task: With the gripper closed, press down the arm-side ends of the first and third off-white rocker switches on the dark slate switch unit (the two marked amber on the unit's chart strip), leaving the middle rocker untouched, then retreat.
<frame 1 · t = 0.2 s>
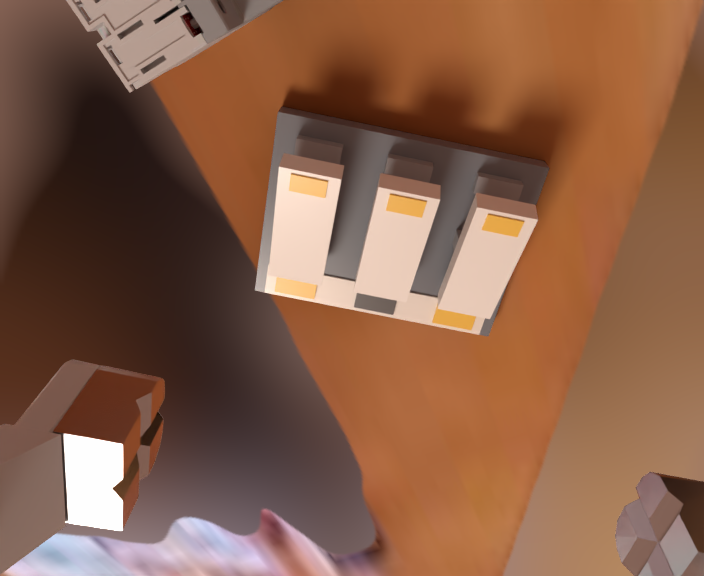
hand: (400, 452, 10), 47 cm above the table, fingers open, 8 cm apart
rocker 2: (394, 242, 54), point 6 cm above the table, hinge at 15.0°
rocker 1: (303, 224, 53), point 6 cm above the table, hinge at 15.0°
switch unit: (392, 225, 59), on the table
rocker 3: (483, 260, 54), point 6 cm above the table, hinge at 15.0°
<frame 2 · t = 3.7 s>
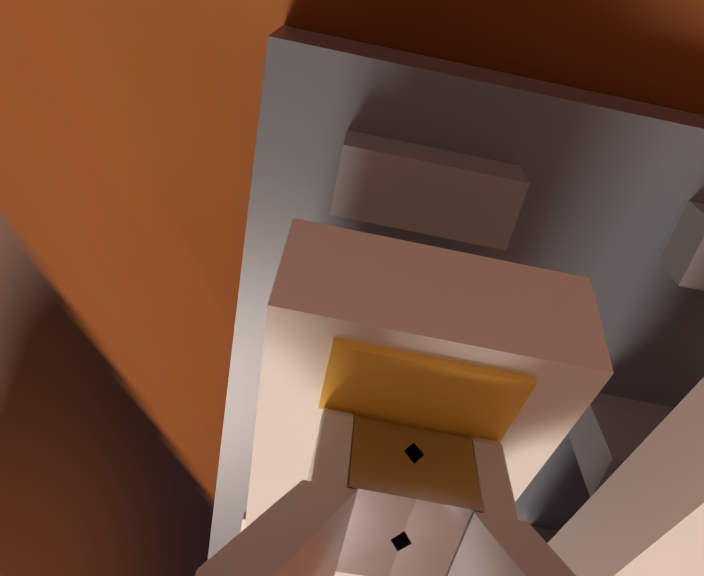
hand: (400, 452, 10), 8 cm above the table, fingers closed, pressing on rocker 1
rocker 1: (369, 483, 14), point 6 cm above the table, hinge at 15.0°, touching gripper
switch unit: (617, 405, 20), on the table
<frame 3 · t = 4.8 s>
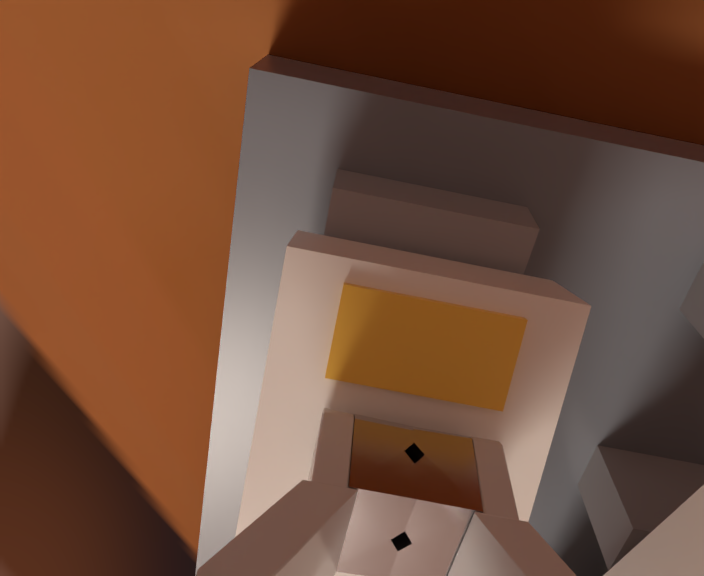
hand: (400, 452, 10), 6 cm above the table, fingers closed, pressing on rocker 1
rocker 1: (364, 561, 12), point 6 cm above the table, hinge at -15.4°, touching gripper
switch unit: (630, 455, 18), on the table
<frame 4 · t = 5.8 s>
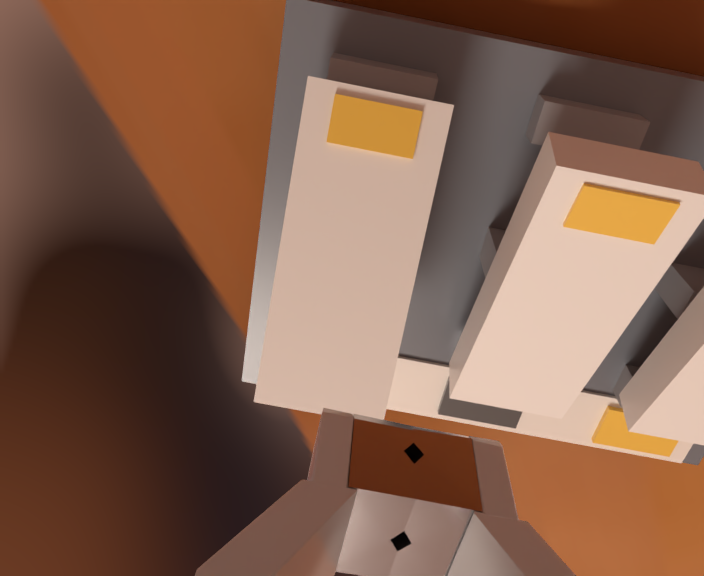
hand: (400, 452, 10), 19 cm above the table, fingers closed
rocker 2: (556, 298, 23), point 6 cm above the table, hinge at 15.0°
rocker 1: (348, 257, 23), point 6 cm above the table, hinge at -15.1°
switch unit: (520, 251, 29), on the table
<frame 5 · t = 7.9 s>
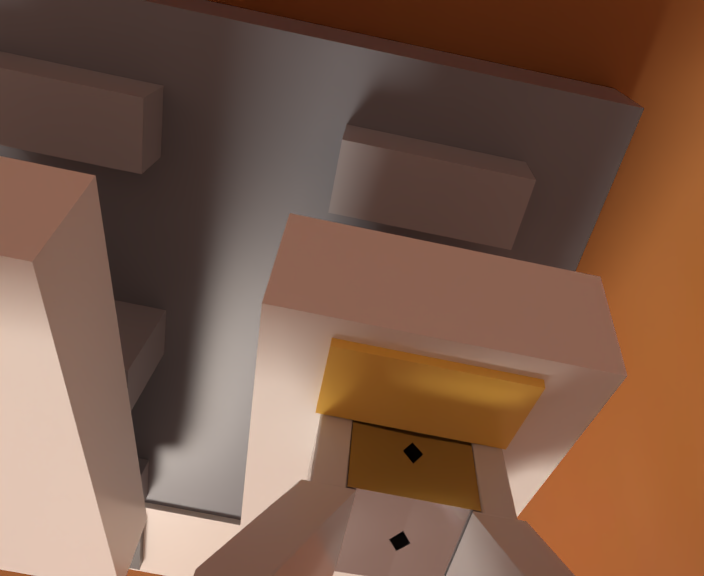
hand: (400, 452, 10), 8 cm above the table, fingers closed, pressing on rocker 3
switch unit: (109, 308, 19), on the table
rocker 3: (369, 491, 13), point 6 cm above the table, hinge at 14.3°, touching gripper
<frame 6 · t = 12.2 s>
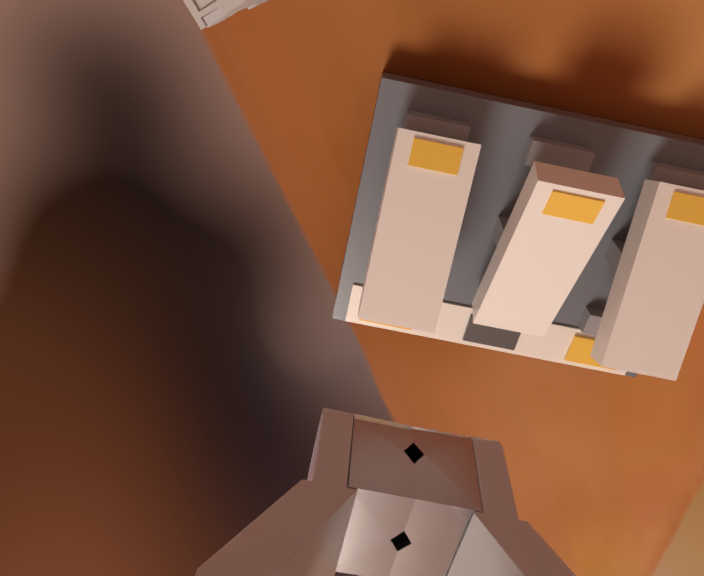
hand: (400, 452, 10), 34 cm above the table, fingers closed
rocker 2: (539, 257, 39), point 6 cm above the table, hinge at 15.0°
rocker 1: (416, 232, 39), point 6 cm above the table, hinge at -14.5°
switch unit: (518, 232, 45), on the table
rocker 3: (661, 281, 39), point 6 cm above the table, hinge at -15.6°
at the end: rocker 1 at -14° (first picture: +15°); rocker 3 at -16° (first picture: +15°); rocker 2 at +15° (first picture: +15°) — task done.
